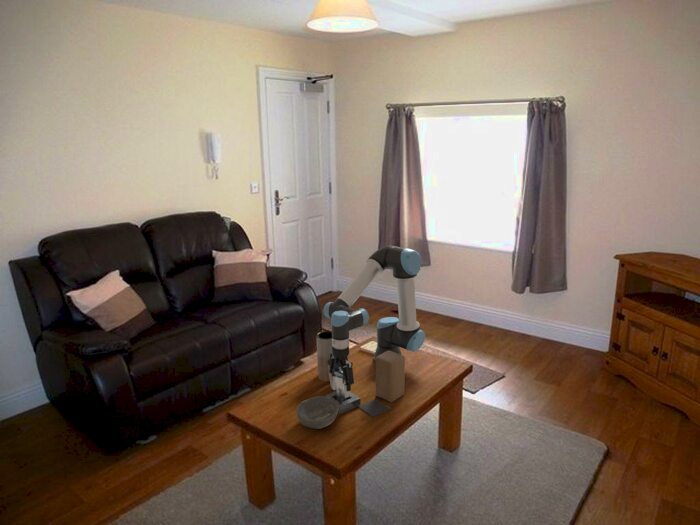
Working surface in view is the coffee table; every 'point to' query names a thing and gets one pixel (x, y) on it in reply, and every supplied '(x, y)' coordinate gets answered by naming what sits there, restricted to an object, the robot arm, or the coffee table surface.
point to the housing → (345, 402)
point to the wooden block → (390, 375)
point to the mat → (374, 408)
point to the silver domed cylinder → (340, 385)
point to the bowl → (317, 412)
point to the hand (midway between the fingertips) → (341, 392)
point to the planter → (324, 354)
